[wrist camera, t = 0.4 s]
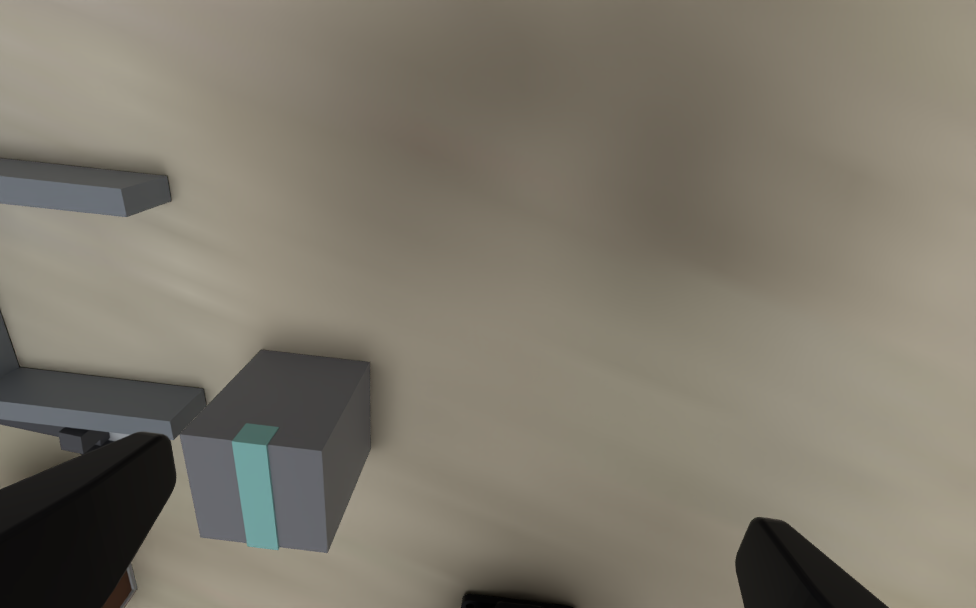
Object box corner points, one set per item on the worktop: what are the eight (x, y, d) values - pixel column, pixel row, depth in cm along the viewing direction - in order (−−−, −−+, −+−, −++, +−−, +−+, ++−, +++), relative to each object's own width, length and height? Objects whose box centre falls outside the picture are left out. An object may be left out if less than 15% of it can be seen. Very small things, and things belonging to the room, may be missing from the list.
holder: (206, 406, 25) (173, 439, 22) (5, 382, 25) (-48, 413, 22) (166, 175, 20) (121, 189, 18) (-79, 149, 20) (-156, 159, 18)
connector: (370, 449, 25) (326, 556, 20) (271, 437, 25) (199, 540, 20) (370, 360, 23) (320, 451, 17) (261, 348, 23) (177, 434, 18)
